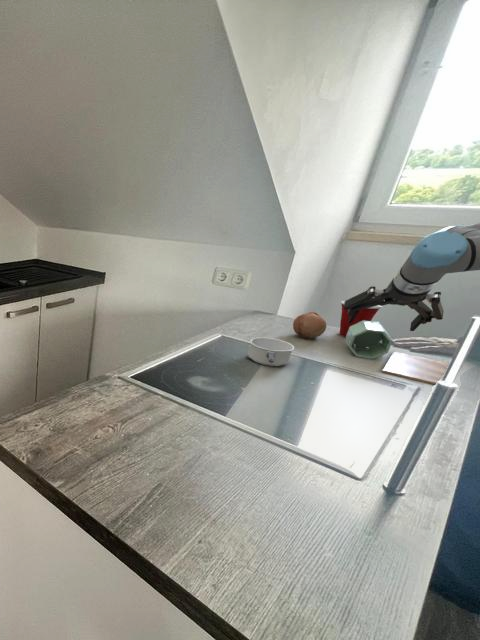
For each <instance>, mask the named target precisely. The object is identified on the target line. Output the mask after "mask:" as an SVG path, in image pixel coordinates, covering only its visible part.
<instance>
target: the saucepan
mask: <svg viewBox="0 0 480 640" xmlns="http://www.w3.org/2000/svg"><path fill="white" fill-rule="evenodd" d="M249 342H250V346H249V348H248V353H247V357H248V358H250V359H251V360H252V361H254V362H255V363H257V364H260V365H262V366H268V367H280V366H284V365H287V364H288V363H289V362H290V359H291V355H292V351H294V350H295V346H294V345H293V344H292V343H291V342H288V341H285V340H282V339H278V338H273V337H253V338H251V339H249Z"/></svg>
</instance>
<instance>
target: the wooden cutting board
mask: <svg viewBox="0 0 480 640" xmlns="http://www.w3.org/2000/svg"><path fill="white" fill-rule="evenodd" d="M449 365H450V363H449V362H445V361H441V360H436V359H431V358H427V357H421V356H418V355H412V354H406V353H402V352H397V351H393V353H392V354H391V356H390V357H389V359H388V361H387V362H386V363H385V365H384V367H382V370H381V373H385V374H388V375H394V376H397V377H402V378H405V379H410V380H415V381H418V382H423V383H427V384H431V385H435V386H437V385H436V383H437V381H439V380H440V379H442V377H443V375H444V373H445V371H446V369H447V370H448V368H449ZM447 367H448V368H447ZM446 372H447V371H446Z"/></svg>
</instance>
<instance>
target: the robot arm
mask: <svg viewBox="0 0 480 640" xmlns="http://www.w3.org/2000/svg"><path fill="white" fill-rule="evenodd" d="M474 271H480V222H476V223H474V224H473V223H472V224H470V225H452V226H451V225H450V226H447V227H444V228H442V229H440V230H438V231H436V232H433V233H430V234H427V235H426V236H425V237H424V238H422V239H421V240H420V241H419V242H418V243H417V245H415V247H414V248H413V249H412V251H411V252H410V254H409V256H408V257H407V259H406V260H405V262H404V263H403V264H402V266H401V267H400V268H399V270H398V271H397V272H396V274H395V275H394V276H393V278H392V280H391V281H390V282H389V284H388V285H387V286H386V288H383V289H376V288H377V287H376V286H373V285H372V286H369V288H368V289H366V290H364V291H362V292H360V293H358V294H357V295H355V296H352V297H350V298H349V299H346V300H344V301H345V303H344V309H345V310H347V309H349V310H348V315H350V316H349V321H348V323H352V322H353V320H354V319H355V317H356V316H357V314H358V313H359V310H362V309H366V308H370V307H374V306H377V305H380V306H382V307H383V306H387V305H393V306H396V305H397V306H402V307H406V306H407V307H409V309H411V310H414V311H415V312H416V313H418V314H417V316H415V318H414V319H413V320H412V321H411V322H410V326H409V327H410V328H409V332H415V330H416V329H418V327H419V326H420V325H425V324H427V323H431V322H432V320H433V319H435V320H439V321H440V320H443V319H444V307H443V305H442V302H441V298H442V292H441V291H434V292H433V294H432V293H430V292H431V290H432V289H433V288H434V287H435V286H436V285H437V284H438V283H439V281H440V280H441V279H442V278H443V277H444V276H445V275H447V274H456V273H465V272H474ZM425 300H427V302H428V304H430V307H431V308H430V307H429V306H428V305H427V304H426V303H425V302H424V301H425Z"/></svg>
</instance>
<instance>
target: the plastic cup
mask: <svg viewBox="0 0 480 640" xmlns="http://www.w3.org/2000/svg"><path fill="white" fill-rule="evenodd" d="M345 301H346V300H342V301H340V305H341V315H340V324H339V335H340V336H342V337H345V338H346V335H347V332H348V330H349V327H350V326H352V325H354V324H357V323H359V322H361V321H363V320H364V321H372V320H373V318H374V317H375V315H376V314H377V313H378V311H379V310H380V309H382V307H383V306H380V305H377V306H374V307H370V308H366V309H362V310H359V313H358V314H357V316H356V317H355V319H354V320H353V322H352V323H348V321H349V316H350V315H348V310H349V309H347V310H345V309H344V303H345Z"/></svg>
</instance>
